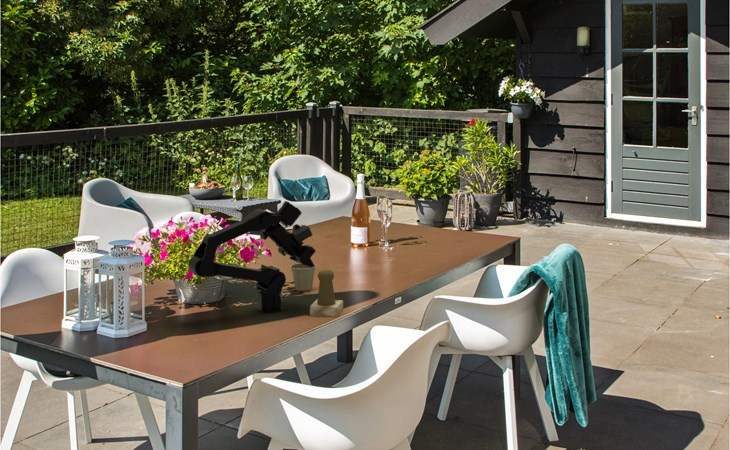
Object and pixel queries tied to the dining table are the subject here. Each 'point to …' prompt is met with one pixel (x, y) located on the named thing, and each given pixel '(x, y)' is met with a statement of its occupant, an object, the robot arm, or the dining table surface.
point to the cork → (326, 288)
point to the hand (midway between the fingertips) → (312, 265)
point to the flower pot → (303, 276)
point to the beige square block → (326, 309)
